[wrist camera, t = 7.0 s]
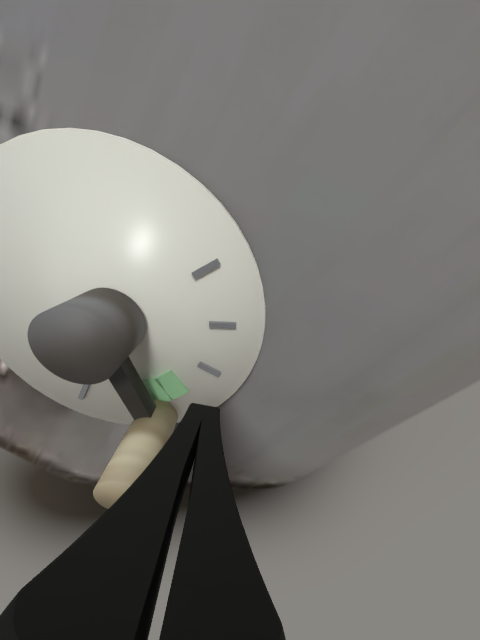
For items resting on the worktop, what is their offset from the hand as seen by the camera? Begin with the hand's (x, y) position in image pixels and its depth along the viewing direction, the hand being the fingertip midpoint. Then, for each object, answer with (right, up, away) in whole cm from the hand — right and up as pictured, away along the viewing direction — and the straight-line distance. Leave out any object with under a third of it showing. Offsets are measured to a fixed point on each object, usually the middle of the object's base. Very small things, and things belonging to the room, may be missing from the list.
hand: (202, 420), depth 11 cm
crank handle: (-4, +2, +2) cm, 5 cm away
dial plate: (-5, +5, +2) cm, 7 cm away
